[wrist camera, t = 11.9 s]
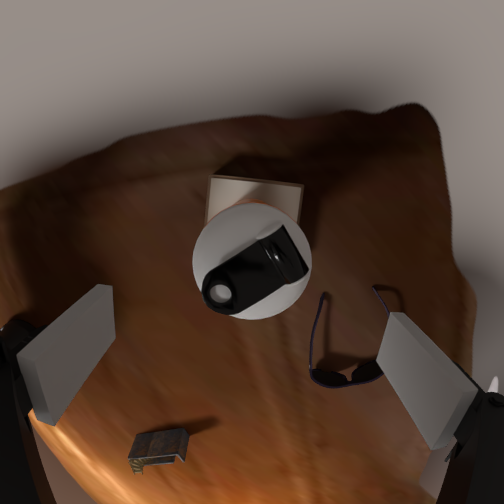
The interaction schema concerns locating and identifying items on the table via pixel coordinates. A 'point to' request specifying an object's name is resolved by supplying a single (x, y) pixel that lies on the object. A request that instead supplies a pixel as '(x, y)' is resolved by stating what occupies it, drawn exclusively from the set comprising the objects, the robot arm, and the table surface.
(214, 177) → the block
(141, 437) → the dark angular channel piece
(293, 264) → the shaker bottle
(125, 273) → the table surface
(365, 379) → the sunglasses
